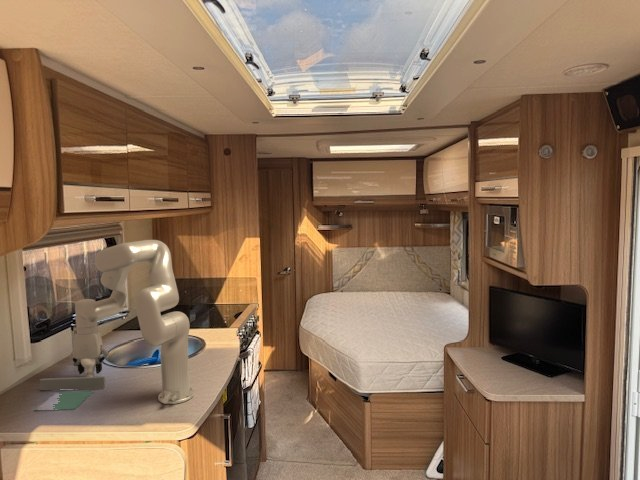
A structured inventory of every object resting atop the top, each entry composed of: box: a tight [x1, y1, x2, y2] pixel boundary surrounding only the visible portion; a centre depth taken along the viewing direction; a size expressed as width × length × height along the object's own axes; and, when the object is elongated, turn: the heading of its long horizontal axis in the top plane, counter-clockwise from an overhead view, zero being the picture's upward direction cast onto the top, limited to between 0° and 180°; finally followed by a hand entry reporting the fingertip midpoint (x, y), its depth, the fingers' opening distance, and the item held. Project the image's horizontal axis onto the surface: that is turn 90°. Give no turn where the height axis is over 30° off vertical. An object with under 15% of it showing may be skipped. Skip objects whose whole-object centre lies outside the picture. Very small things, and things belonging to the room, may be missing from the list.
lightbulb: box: [81, 359, 97, 377], centre depth 176 cm, size 6×6×11 cm
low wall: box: [38, 376, 107, 391], centre depth 166 cm, size 1×24×4 cm, turn 93°
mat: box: [33, 390, 94, 411], centre depth 156 cm, size 14×14×1 cm
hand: (90, 372), depth 176 cm, fingers open, 6 cm apart
